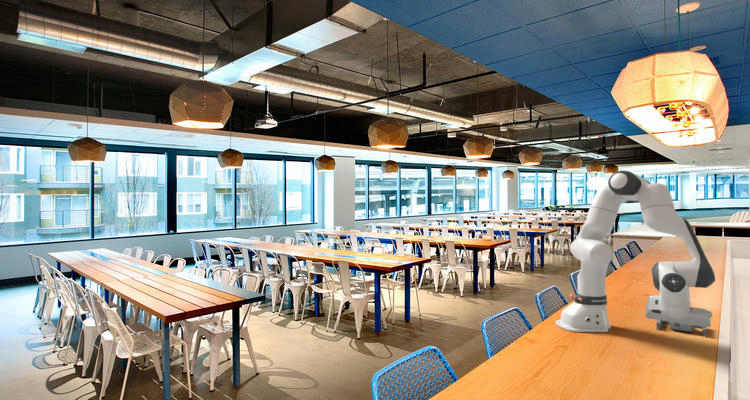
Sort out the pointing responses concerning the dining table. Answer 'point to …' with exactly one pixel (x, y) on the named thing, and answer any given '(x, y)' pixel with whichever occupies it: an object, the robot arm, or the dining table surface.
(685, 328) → the grey cylinder
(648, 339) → the dining table surface
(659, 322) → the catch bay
